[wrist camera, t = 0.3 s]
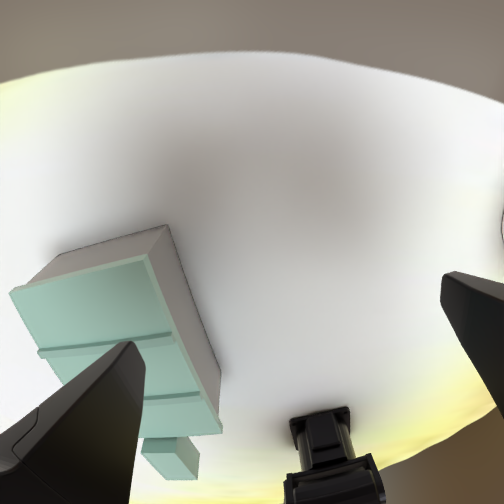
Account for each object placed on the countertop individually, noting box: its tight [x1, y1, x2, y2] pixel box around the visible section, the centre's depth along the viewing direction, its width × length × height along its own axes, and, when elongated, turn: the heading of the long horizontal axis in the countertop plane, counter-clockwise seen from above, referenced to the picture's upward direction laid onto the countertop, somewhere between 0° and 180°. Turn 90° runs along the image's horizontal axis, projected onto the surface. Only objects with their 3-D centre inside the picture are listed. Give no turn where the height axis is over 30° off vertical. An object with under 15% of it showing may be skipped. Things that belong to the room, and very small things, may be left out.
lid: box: [9, 254, 223, 480], centre depth 20 cm, size 20×11×3 cm, turn 13°
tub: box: [27, 225, 221, 415], centre depth 22 cm, size 14×10×6 cm
